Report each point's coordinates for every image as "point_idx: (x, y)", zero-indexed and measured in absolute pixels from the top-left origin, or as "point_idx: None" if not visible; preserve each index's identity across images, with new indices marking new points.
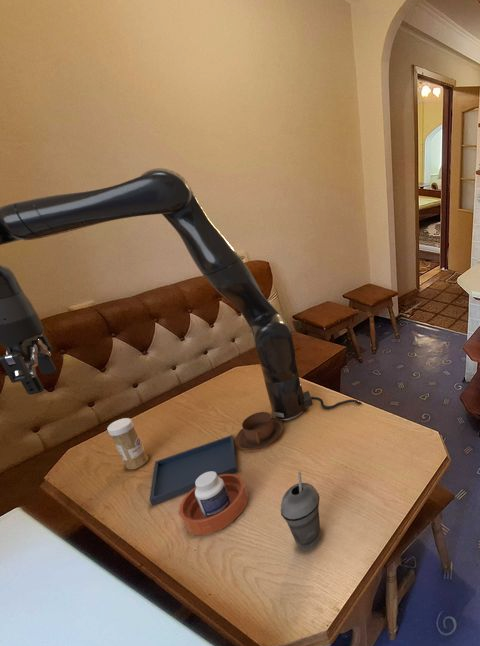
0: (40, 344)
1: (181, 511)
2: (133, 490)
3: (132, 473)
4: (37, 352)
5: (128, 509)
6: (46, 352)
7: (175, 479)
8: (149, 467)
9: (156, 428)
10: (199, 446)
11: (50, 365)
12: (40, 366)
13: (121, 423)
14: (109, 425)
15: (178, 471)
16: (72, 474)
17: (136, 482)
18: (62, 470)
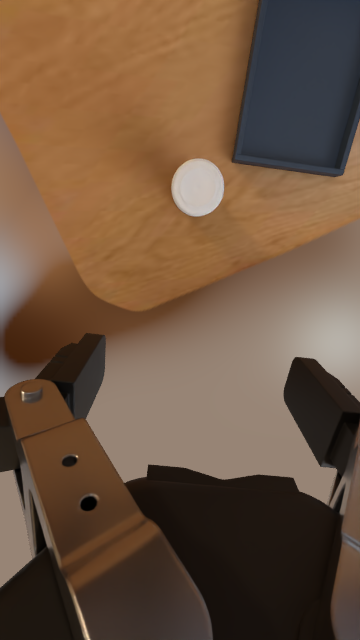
0: (178, 573)
1: None
2: (266, 204)
3: None
4: (192, 502)
5: (309, 212)
6: (80, 420)
7: (304, 130)
8: None
9: (88, 156)
10: (253, 58)
11: (91, 362)
12: (89, 402)
13: (200, 182)
14: (188, 210)
15: (284, 122)
16: (148, 290)
17: (248, 199)
18: (126, 303)
